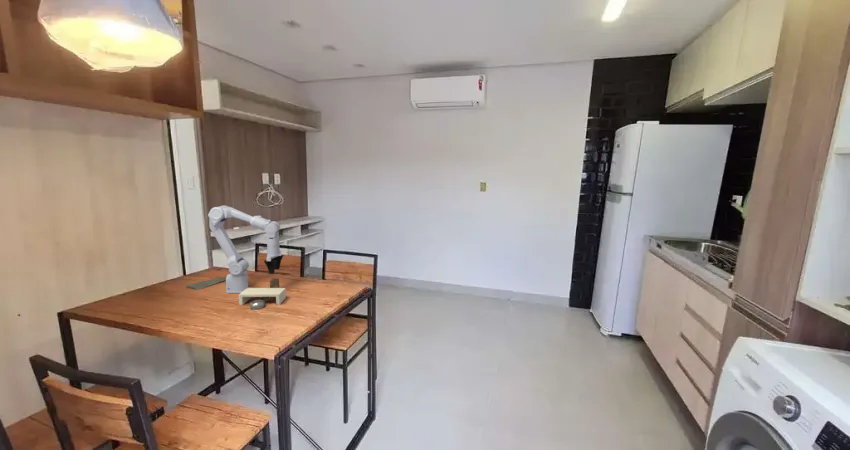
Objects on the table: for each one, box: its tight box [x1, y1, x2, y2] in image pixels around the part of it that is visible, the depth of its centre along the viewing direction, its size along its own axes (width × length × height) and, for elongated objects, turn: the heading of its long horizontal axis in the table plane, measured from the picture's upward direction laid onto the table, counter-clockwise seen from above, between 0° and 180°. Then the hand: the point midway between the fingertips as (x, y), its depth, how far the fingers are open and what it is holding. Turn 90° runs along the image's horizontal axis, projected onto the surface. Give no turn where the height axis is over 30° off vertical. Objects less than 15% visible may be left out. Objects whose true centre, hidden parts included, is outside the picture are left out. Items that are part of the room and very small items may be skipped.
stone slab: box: [185, 276, 227, 291], centre depth 188 cm, size 22×3×10 cm
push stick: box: [260, 277, 280, 303], centre depth 171 cm, size 4×17×6 cm, turn 6°
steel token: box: [249, 299, 266, 311], centre depth 157 cm, size 6×6×2 cm
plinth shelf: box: [238, 287, 287, 306], centre depth 163 cm, size 18×9×5 cm, turn 94°
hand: (274, 271), depth 178 cm, fingers open, 7 cm apart
